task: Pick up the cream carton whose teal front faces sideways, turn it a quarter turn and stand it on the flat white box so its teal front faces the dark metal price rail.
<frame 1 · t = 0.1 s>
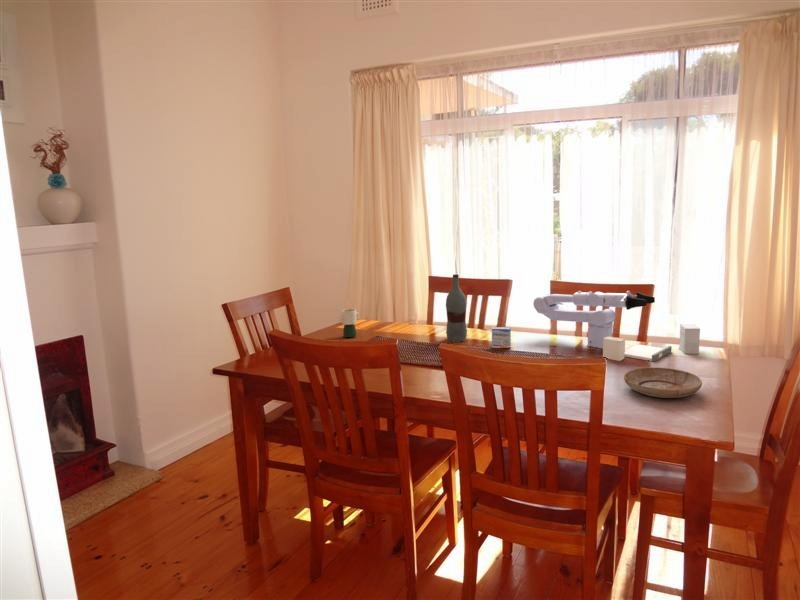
hand: (650, 301, 237), 22 cm above the table, tool horizontal, fingers open, 7 cm apart
small box: (688, 351, 243), on the table
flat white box: (645, 353, 242), on the table
ceramic bowl: (661, 392, 199), on the table
bottle: (456, 340, 273), on the table
carton: (613, 358, 237), on the table
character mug: (349, 337, 285), on the table
medicine box: (501, 347, 258), on the table
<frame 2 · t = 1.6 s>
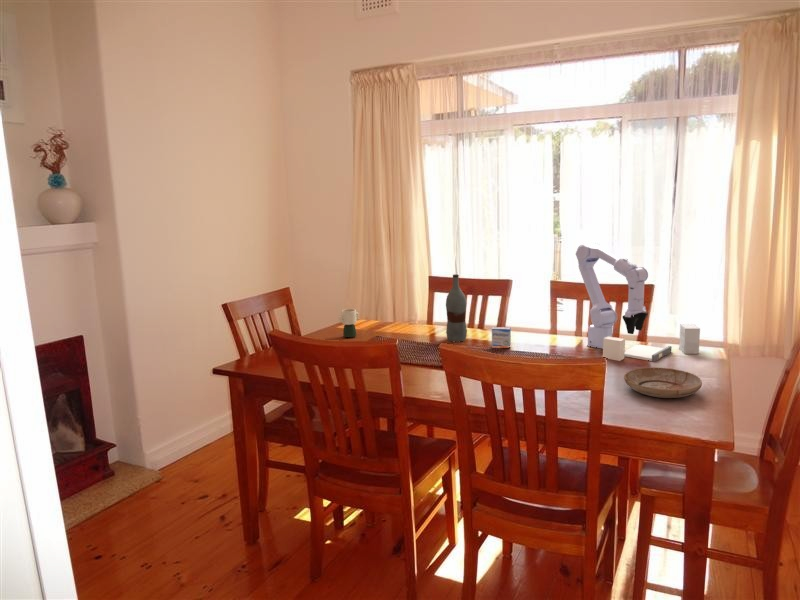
hand: (634, 331, 239), 9 cm above the table, tool pointing down, fingers open, 7 cm apart
nothing on the table moved.
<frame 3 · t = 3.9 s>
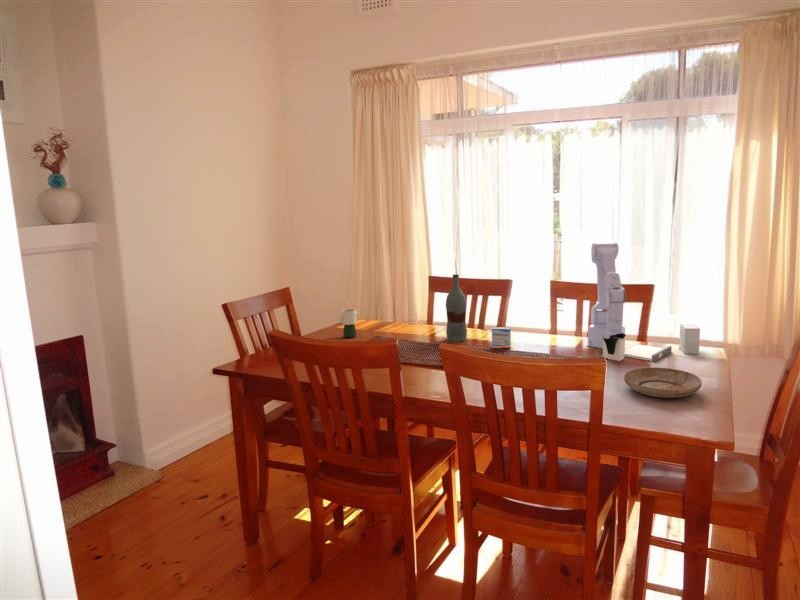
hand: (613, 352, 237), 2 cm above the table, tool pointing down, fingers closed on carton, 4 cm apart
carton: (613, 358, 237), on the table, touching gripper
everything else where it was.
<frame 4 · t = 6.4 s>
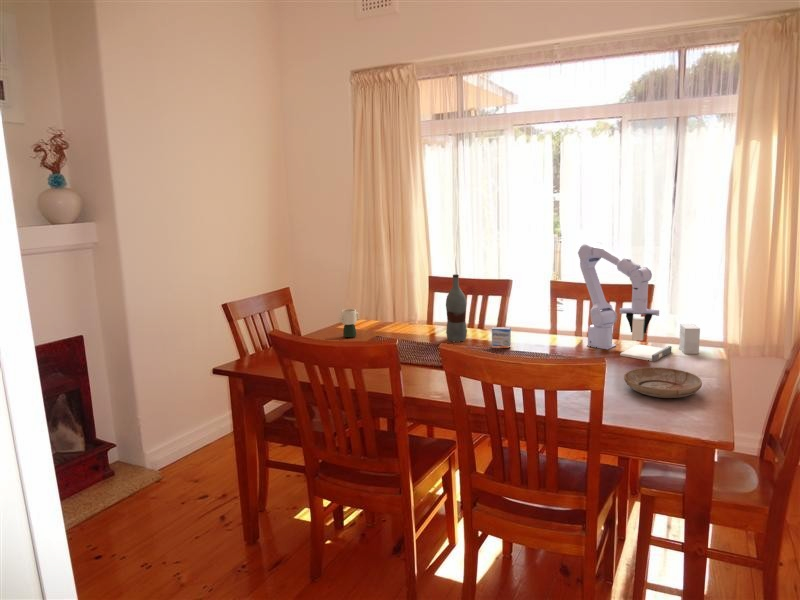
hand: (638, 332, 238), 9 cm above the table, tool pointing down, fingers closed on carton, 4 cm apart
carton: (637, 338, 239), point 7 cm above the table, touching gripper
everything else where it was.
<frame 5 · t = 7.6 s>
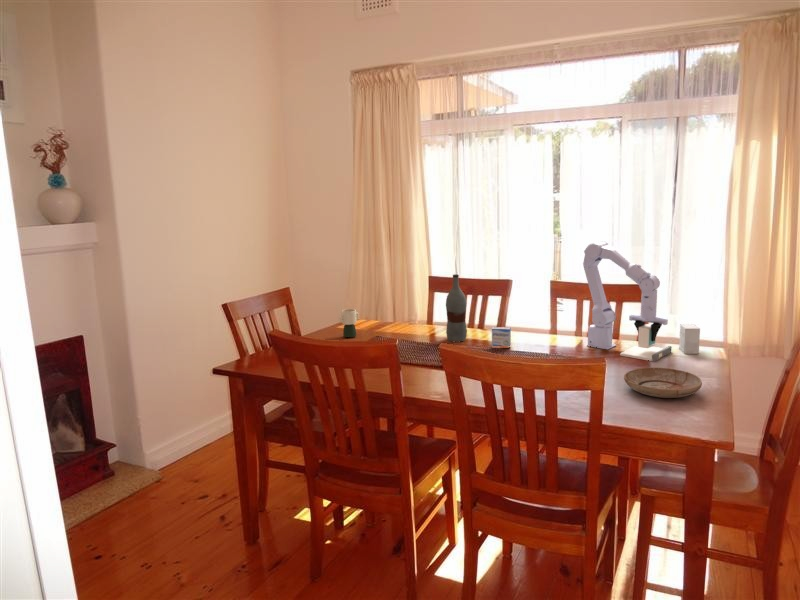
hand: (647, 339, 240), 6 cm above the table, tool pointing down, fingers closed on carton, 4 cm apart
carton: (646, 345, 241), point 3 cm above the table, touching gripper
everything else where it was.
when the fingers open (4 cm above the table, at t = 8.8 s): carton stays where it is, resting on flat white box.
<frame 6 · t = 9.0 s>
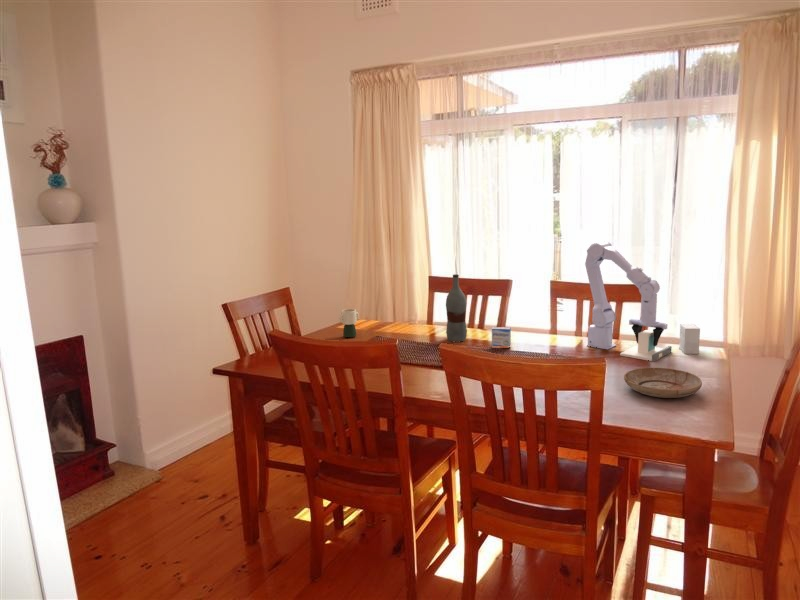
hand: (647, 344, 241), 4 cm above the table, tool pointing down, fingers open, 6 cm apart
carton: (646, 351, 241), point 1 cm above the table, touching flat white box
everything else where it was.
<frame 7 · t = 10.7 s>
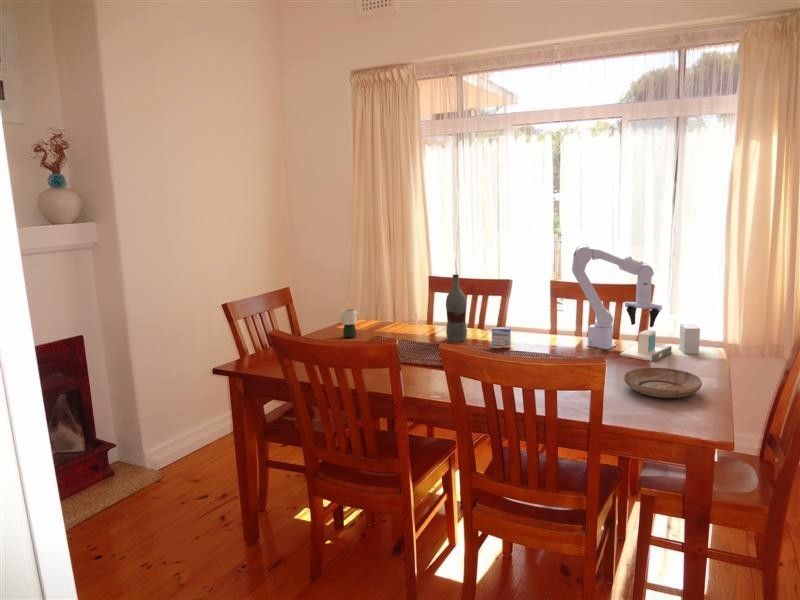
hand: (642, 325, 249), 9 cm above the table, tool pointing down, fingers open, 7 cm apart
nothing on the table moved.
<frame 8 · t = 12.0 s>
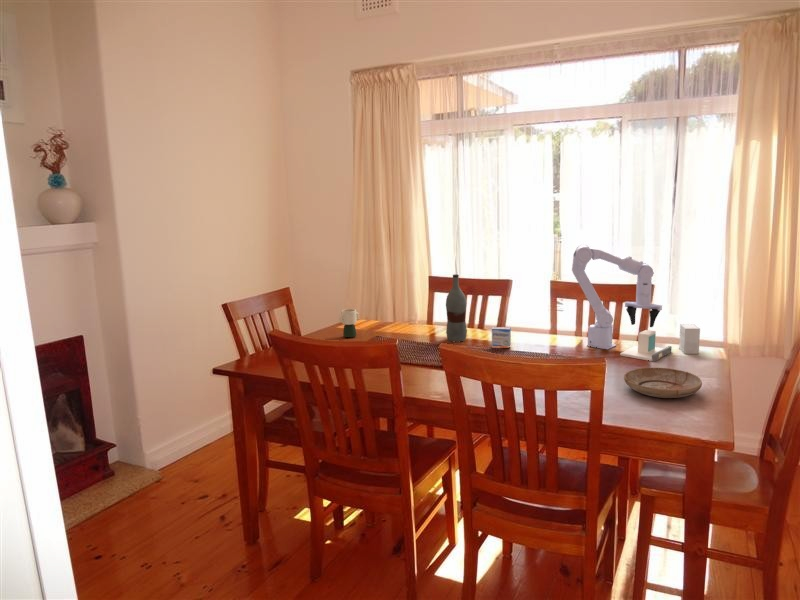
hand: (642, 325, 249), 9 cm above the table, tool pointing down, fingers open, 7 cm apart
nothing on the table moved.
at the end: carton inside the target area on the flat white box (0.2 cm from its centre), point 1.0 cm above the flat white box's base; carton tilted 0°; the gripper is holding nothing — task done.
